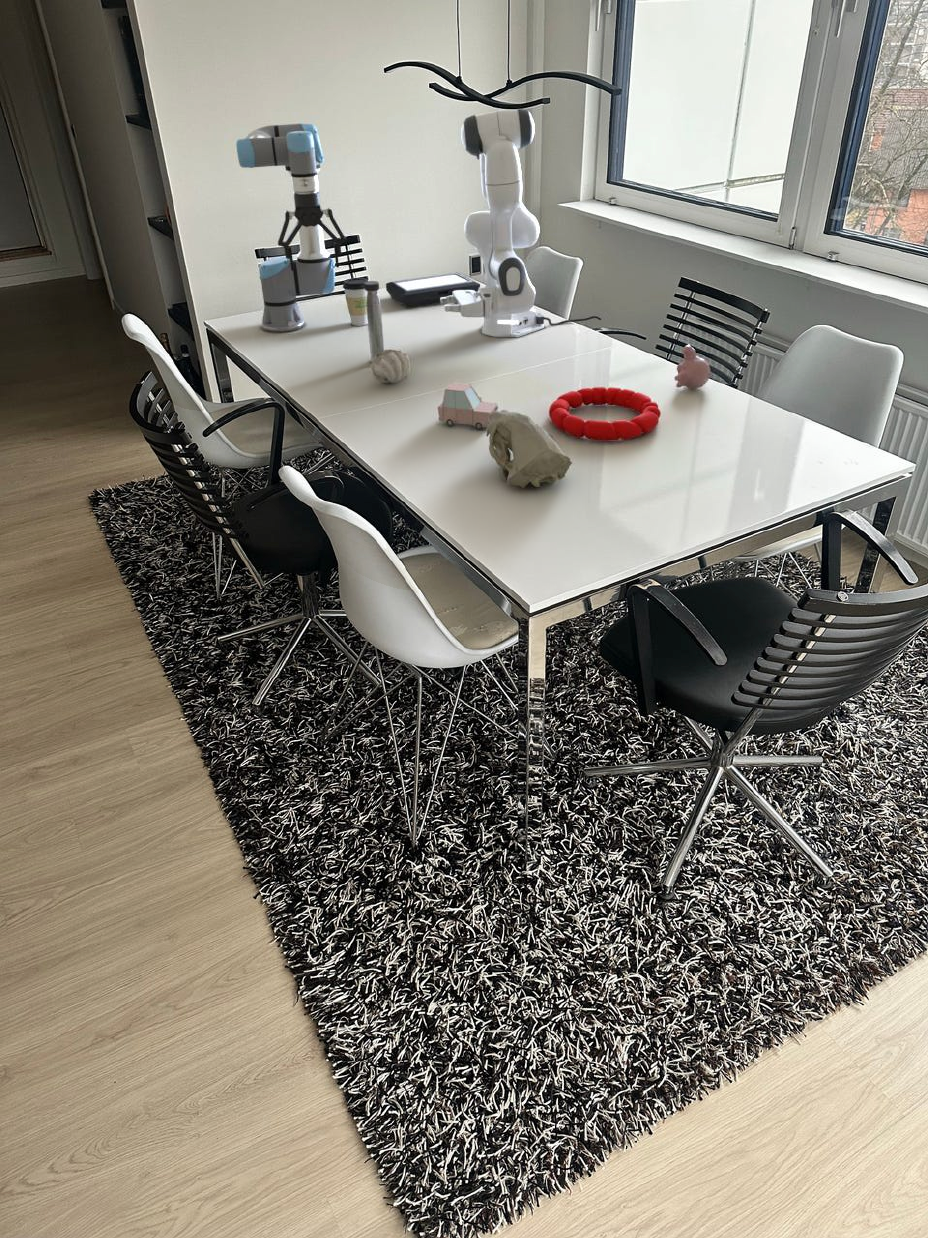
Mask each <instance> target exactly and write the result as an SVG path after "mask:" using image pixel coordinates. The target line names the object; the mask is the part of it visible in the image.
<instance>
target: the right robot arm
mask: <svg viewBox="0 0 928 1238" xmlns="http://www.w3.org/2000/svg"><path fill="white" fill-rule="evenodd" d="M535 127H536V126H535V122H534V119H533V117H532V114H531V112H530V111H529V110H528V109H524V108H517V109H500V110H499V109H498V110H496V111H489V112H484V113H481V114H477V115H476V114H473V115H470V116H468V117H465V118H464V120H463V122H462V126H461V130H460V138H461V142H462V145H463V147H464V149H465V151H466V152H467V154H470V155H471V156H473V157H476V160H479V166H480V181H481V192H482V193H481V194H482V195H483V197H484V199H485V200H486V201H487V204H488V207H489V208H488V209H489V210H481V211H475V212H471V213H470V214H469V215H468V216H467V217H466V219H465V222H464V226H463V233H464V235H465V239H466V241H467V242H468V243H469V244H471V245H472V247H474V248H475V250H476V252H478V254H479V256H480V258H481V260H482V263H483V264H482V265H483V267H484V268H483V269H484V279H485V286H480V287H479V289H478V292H475V291H474V290H456V291H453V292H452V295H450V296H447V297H441V298H440V302H441V303H440V304H441V305H444V311H445V312H447V313H449V312H452V313H459V314H460V315H461V317H463V318H483V324H482V328H481V333H482V334H484V335H486V336H490V337H496V338H497V337H498V338H520V337H523V336H525V335H528V334H531V333H534V332H537V331H539V330H542V329H544V328H545V327H544V324H545V321H548V325H550V326H552V327H553V326H559V325H560V326H561V325H562V324H566V323H574V322H584V321H588V320H593V319H597V320H599V321H602V318H601V316H598V315H591V316H588V317H582V318H574V319H565V320H561V321H559V322H556V323H553V322H552V321H551V318H549V317H545V316H544V315H543V314H541V312H537V310H536V309H535V308H534V305H535V302H536V288H535V287H534V285H533V284H532V282H531V280H530V278H529V276H528V273H527V269H526V265H525V263H524V262H523V260H522V259H521V258H520V257H518V256H517V254H516V252H515V250H514V249H518V250H519V249H526V248H531V247H533V246H534V245H536V242H537V241H538V238H539V236H540V224H539V222H538V220H537V218H536V216H535V215H533V214H532V213H531V212H530V211H529V210H528V209H527V208H526V206H525V205H524V203H523V202H522V198H523V178H522V176H523V175H522V168H521V161H520V155H519V151H518V150H522V149H525V148H527V147H530V145H531V143H532V142H533V139H534V136H535V129H536V128H535Z"/></svg>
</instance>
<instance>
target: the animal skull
mask: <svg viewBox="0 0 928 1238" xmlns="http://www.w3.org/2000/svg"><path fill="white" fill-rule="evenodd" d="M485 436H486V438H487V437H489V438H488V440H489V444H488V445H489V446H488V450H489V454H490V456H491V457H492V458H493V459H494V460H495V462H496V464H497V466H499V468H500V470H501V471H502V472H501V478H502V479H507V480H506V484H507V486H517V487H518V486H519V488H523V489H524V488H526V486H527V485H529V483H531V485H533V486H534V487H536V488H540V485H541V484H542V482H544V483H549V484H550V485H553V484H555V483H556V482H557V480H561V479H563V478H565V476H566V474H567V472H568V471H569V469H570V467H571V466H572V464H573V462H572V461H571V458H570V457H568V456H567V455H565V453H564V451H562V449H561V448H560V446H559V444H557V443H556V439H555V438H554V436H553V435H551V434H550V433H548V432H547V431H546V430H545V429H544V428H542V427H541V426H539V425H538V424H537V423H536V424H535V422H534V421H533V419H532V418H531V417H530V416H529V415H527V414H524V413H519V412H515V411H509V410H507V409H502V410H500V411H499V410H497V411H496V412H492V413H491V414H490V422H488V423H487V427H486V435H485ZM511 453H512V454H511ZM511 455H512V457H513V458H512V460H511ZM507 474H508V475H507Z"/></svg>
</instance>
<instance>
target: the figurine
mask: <svg viewBox="0 0 928 1238" xmlns="http://www.w3.org/2000/svg"><path fill="white" fill-rule="evenodd" d="M682 354H683V358H684V359H683V361H682V362H679V363H678V364H677V365H676V372H677V375H675V376H674V381H675V382H676V381H677V382H676V384H675V386H676V388H681V387H686V388H688V389H693V390H694V389H695V390H696V389H700V388H703V387H704V386H705V385H706V384H707V383H708V382H709V379H710V377H711V367H710V364H709V362H708V361H706V359H704V358H702V357H700V356H697V353H696V350H695V349H694V347H692V345H690V344H686V345H685V346H684V347H683V348H682Z"/></svg>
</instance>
